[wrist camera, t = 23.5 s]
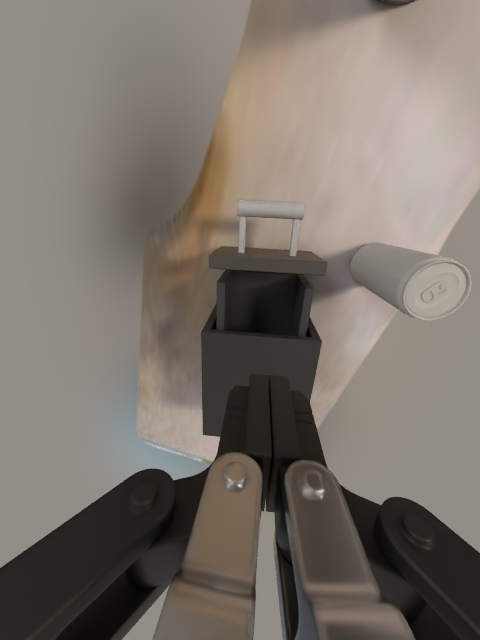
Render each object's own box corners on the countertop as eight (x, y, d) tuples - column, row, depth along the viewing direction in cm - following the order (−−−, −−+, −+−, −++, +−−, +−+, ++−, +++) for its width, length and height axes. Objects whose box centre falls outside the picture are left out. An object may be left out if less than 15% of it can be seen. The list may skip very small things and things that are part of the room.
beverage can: (399, 265, 29) (486, 294, 18) (362, 291, 30) (421, 334, 19) (376, 232, 27) (454, 243, 16) (339, 261, 29) (388, 289, 18)
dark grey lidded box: (216, 302, 32) (201, 332, 24) (305, 308, 32) (322, 341, 23) (215, 386, 37) (202, 435, 29) (292, 393, 37) (301, 445, 28)
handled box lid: (222, 201, 27) (208, 196, 20) (318, 206, 26) (338, 202, 19) (219, 341, 33) (209, 372, 27) (296, 347, 33) (305, 380, 26)
